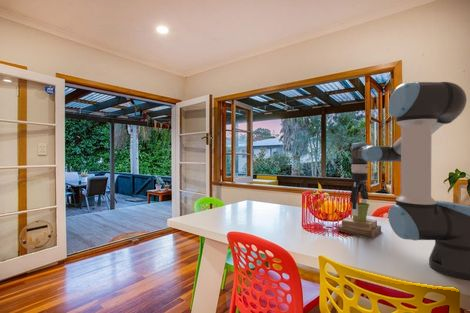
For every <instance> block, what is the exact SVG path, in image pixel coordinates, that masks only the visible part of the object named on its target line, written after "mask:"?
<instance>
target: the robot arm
mask: <svg viewBox="0 0 470 313" xmlns="http://www.w3.org/2000/svg"><path fill="white" fill-rule="evenodd" d="M466 104H467V94H466V92H465V90H464V89H463V87H461V86H459V84H456V83H454V82H451V81H439V82H438V81H437V82H436V81H434V82H433V81H413V82H404V83H401V84H399V85H398V86H397V87H396V88H395V89H394V90H393V92H392V93H391V95H390V97H389V101H388V112H389V115H390V116H392V117H393V118H395V123H396V125H398V126H399V127H400V137H399V138H398V139H397V140H396V141H394V143H392V145H368V143H367V142H353V143H352V144H351V149H350V152H351V167H350V168H351V171H350V172H351V180H352V181H354V182H352V184H351V192H350V198H349V203H351V202H352V208H351V216H352V215H355V216H358V203H357V202H358V199H359V197H360V196H361V198H360V202H361V203H367V204H368V201H367V200H369V198H370V197H369V193H368V187H367V186H368V185H367V181H368V179H369V178H368V176H369V175H368V173H367V172H368V169H369V166H368V165H369V163H374V162H375V163H376V162H395V163H396V162H398V163H400V195H398V196H397V197H396V198H395V204H392V205H391V206H389V209H388V211H387V215H388V216H387V217H388V222H389V225H390V228H391V229H392V231H393V232H394V234H395V235H397V237H399V238H400V239H402V240H410V241H434V246H433V248H432V250H431V252H430V255H429V257H428V258H429V259H428V265H429V267H430V268H431V269H433V270H434V271H437V272H439V273H441V274H443V275H447V276H449V277H453V278H457V279H462V280H467V279H468V280H469V281H470V205H468V204H464V203H457V202H451V201H445V200H435V199H434V198H433V197H432V135H433V134H435V132H436V131H438V130H439V129H440V128H441V127H442V126H444V125H448V124H451V123H452V122H454V121H455V120H456V119H457V118H458V117H459V116H461V114H462V113H463V111H464V110H465V109H466V108H465V107H466Z"/></svg>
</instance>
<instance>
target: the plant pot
mask: <svg viewBox="0 0 470 313" xmlns="http://www.w3.org/2000/svg"><path fill="white" fill-rule="evenodd" d="M358 202H359V205H358V216H355V215H352V214H351V216H353V220H355V221H360V222H362V221H366V219H367V217H368V216H367V215H368V209H369V207H370V204H369V203H368V202H367V203H361V201H358Z"/></svg>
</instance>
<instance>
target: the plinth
mask: <svg viewBox="0 0 470 313" xmlns="http://www.w3.org/2000/svg"><path fill="white" fill-rule="evenodd" d="M338 231H341V232H345V233H344V234H346V233H349V234H348V235H351V234H353V235H352V236H355V235H356V237H360V236H361V237H362V238H365V237H366V238H365V239H370V238H371V240H372V239H373V238H375V237H376V236H377V235H379V234H380V233H381V232H382V225H378V220H377V219H371V218H366V221H362V222H360V221H355V220H353V218H351V217H350V216H349V217H346V218H343V219H342V220H341V224H339V225H338V226H337V232H338ZM341 232H340V233H341Z"/></svg>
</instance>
